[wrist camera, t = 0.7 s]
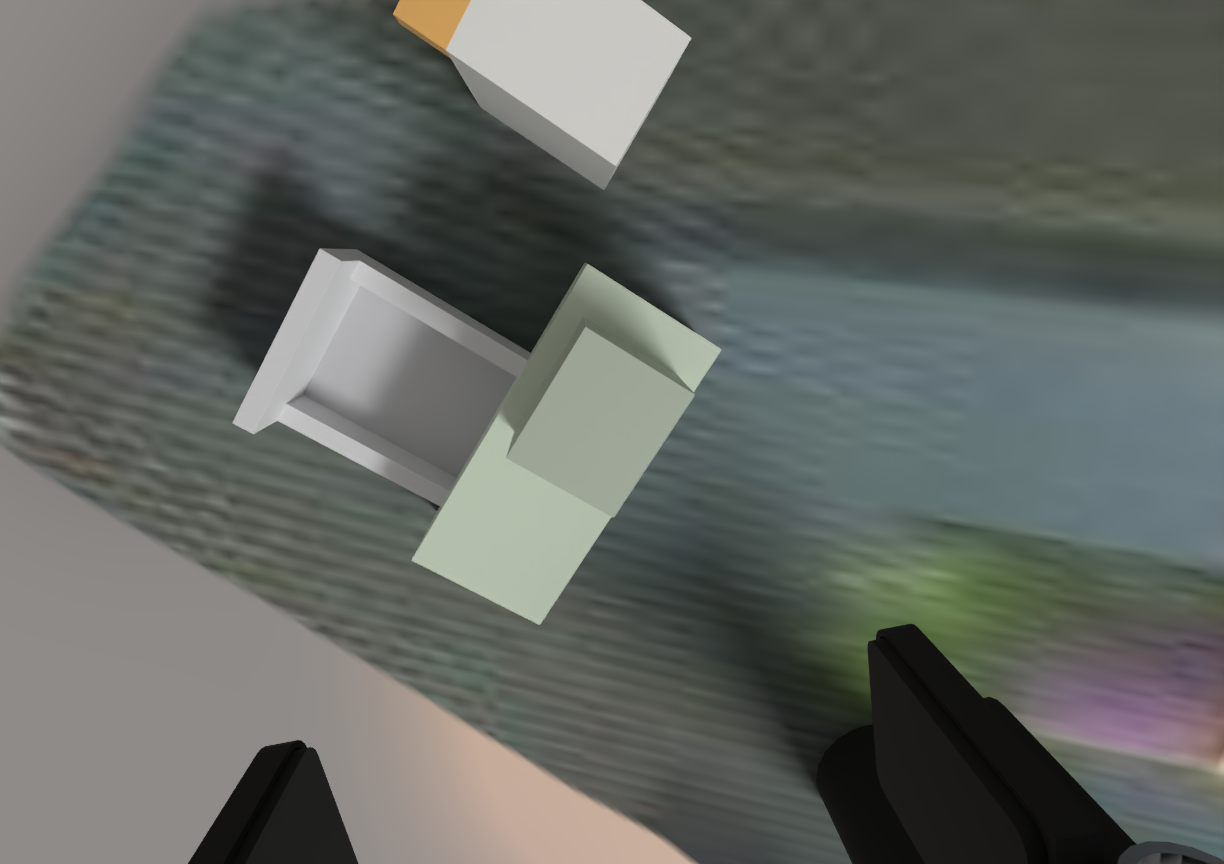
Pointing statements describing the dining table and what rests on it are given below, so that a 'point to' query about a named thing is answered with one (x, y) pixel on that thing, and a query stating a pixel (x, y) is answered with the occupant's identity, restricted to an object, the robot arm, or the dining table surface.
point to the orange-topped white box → (557, 68)
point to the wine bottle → (862, 803)
